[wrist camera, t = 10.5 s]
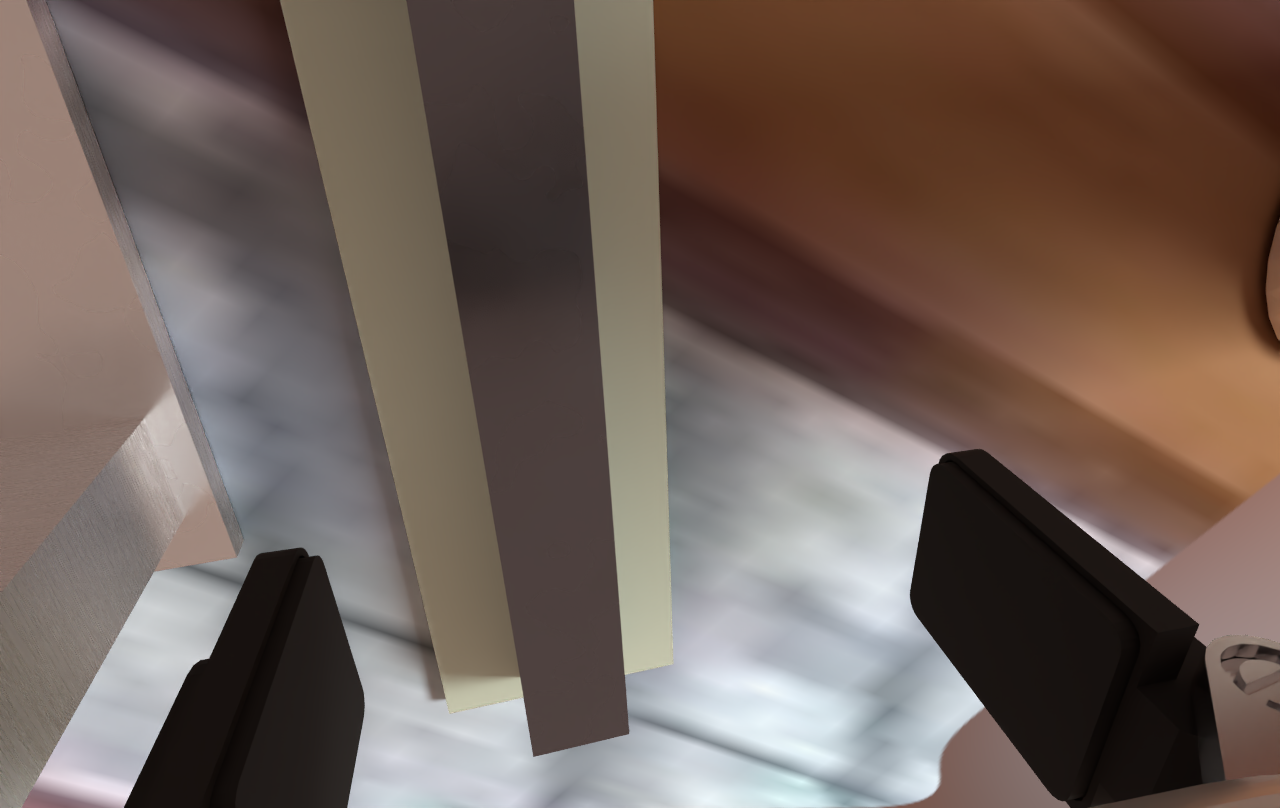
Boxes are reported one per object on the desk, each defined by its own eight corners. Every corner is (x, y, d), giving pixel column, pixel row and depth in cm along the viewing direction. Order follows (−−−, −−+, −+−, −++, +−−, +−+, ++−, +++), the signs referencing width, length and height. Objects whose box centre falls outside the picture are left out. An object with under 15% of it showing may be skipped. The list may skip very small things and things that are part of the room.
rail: (532, -216, 14) (552, -282, 11) (609, 658, 25) (629, 733, 22) (376, -220, 14) (358, -289, 11) (523, 676, 25) (533, 756, 22)
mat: (637, -268, 15) (644, -280, 14) (668, 652, 27) (673, 664, 26) (218, -284, 13) (209, -297, 13) (449, 699, 25) (449, 713, 25)
